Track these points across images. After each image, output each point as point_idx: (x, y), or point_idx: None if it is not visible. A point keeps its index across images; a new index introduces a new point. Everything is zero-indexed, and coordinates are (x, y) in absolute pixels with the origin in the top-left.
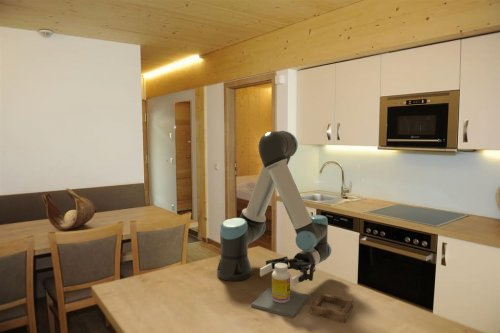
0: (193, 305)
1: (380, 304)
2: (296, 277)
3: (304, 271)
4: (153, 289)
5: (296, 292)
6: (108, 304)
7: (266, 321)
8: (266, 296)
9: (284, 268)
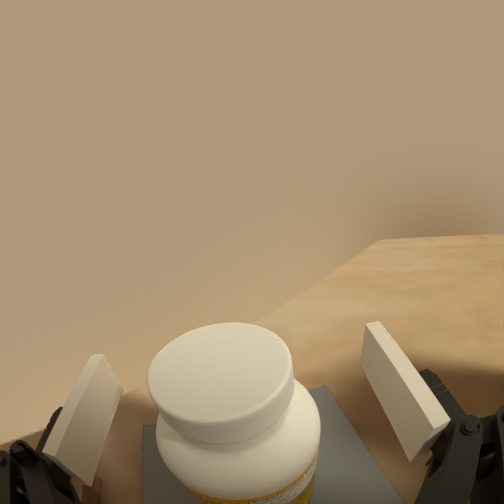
0: (412, 295)
1: None
2: (79, 381)
3: (25, 442)
4: (494, 266)
5: None
6: (450, 236)
7: None
8: (337, 460)
9: (162, 355)
